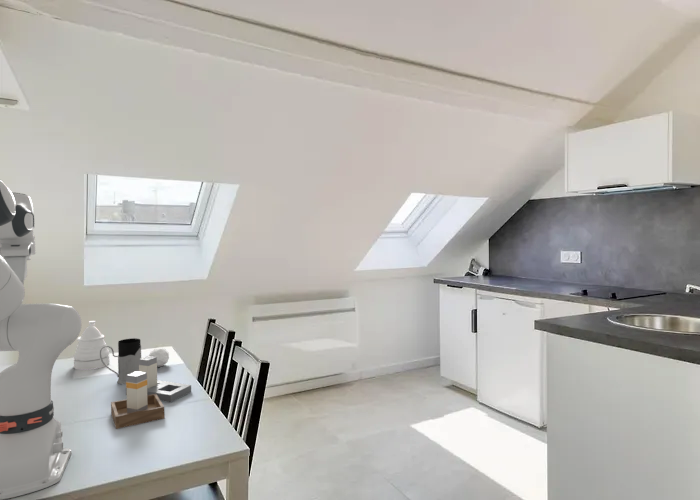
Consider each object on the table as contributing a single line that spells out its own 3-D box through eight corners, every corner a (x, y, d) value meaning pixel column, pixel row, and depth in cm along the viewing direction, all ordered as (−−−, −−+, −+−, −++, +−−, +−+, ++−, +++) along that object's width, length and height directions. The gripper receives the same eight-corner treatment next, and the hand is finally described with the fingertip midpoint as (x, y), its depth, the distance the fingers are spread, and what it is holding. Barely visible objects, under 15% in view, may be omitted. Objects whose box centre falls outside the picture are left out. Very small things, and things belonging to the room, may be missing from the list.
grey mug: (142, 382, 167) (141, 342, 166) (98, 387, 161) (97, 346, 161) (143, 375, 175) (142, 337, 174) (102, 379, 169) (101, 340, 169)
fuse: (157, 390, 158) (156, 357, 158) (148, 394, 154) (148, 360, 154) (148, 389, 159) (147, 356, 159) (139, 393, 156) (138, 359, 155)
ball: (154, 372, 187) (146, 355, 189) (173, 363, 190) (165, 346, 192) (151, 368, 180) (143, 351, 182) (171, 359, 183) (163, 341, 186)
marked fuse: (147, 411, 138) (147, 372, 138) (137, 416, 134) (136, 376, 134) (137, 409, 140) (136, 371, 139) (126, 414, 136) (125, 375, 135)
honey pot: (78, 362, 192) (77, 320, 191) (112, 359, 196) (111, 318, 195) (70, 371, 180) (68, 326, 179) (106, 368, 184) (104, 324, 183)
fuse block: (191, 392, 157) (191, 385, 157) (170, 402, 147) (170, 395, 147) (148, 385, 163) (148, 378, 163) (125, 395, 154) (125, 388, 154)
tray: (164, 418, 135) (164, 406, 135) (116, 428, 128) (115, 416, 128) (156, 404, 146) (156, 393, 146) (111, 413, 139) (110, 402, 139)
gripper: (6, 247, 139) (8, 292, 140) (-1, 250, 122) (1, 301, 123) (31, 247, 142) (33, 290, 143) (28, 250, 125) (30, 299, 126)
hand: (18, 295), depth 133 cm, fingers open, 8 cm apart
